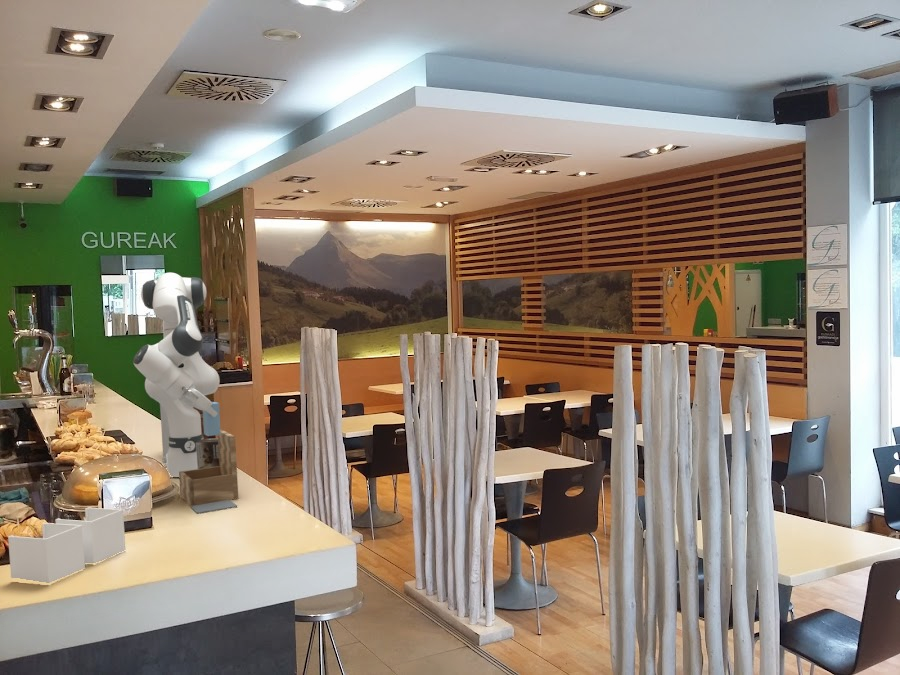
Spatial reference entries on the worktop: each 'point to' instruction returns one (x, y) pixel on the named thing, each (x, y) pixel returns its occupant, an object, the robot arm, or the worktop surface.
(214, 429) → the block
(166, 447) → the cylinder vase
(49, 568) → the white twin bins
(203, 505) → the mat
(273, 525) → the worktop surface
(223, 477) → the caddy
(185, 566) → the worktop surface
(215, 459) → the grey brown upright frame
